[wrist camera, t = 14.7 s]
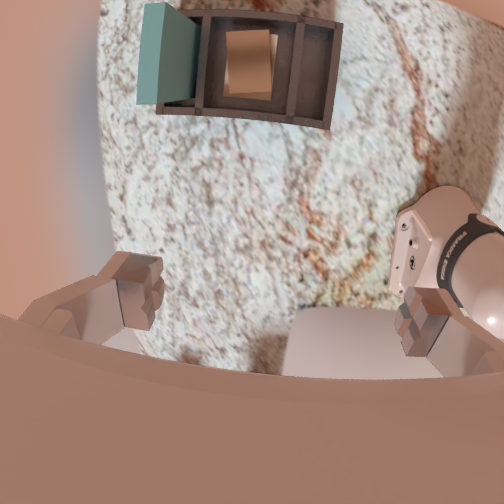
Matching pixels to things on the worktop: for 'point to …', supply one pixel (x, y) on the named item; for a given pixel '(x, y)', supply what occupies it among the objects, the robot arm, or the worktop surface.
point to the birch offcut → (255, 94)
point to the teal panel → (167, 55)
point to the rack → (285, 71)
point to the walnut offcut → (249, 61)
